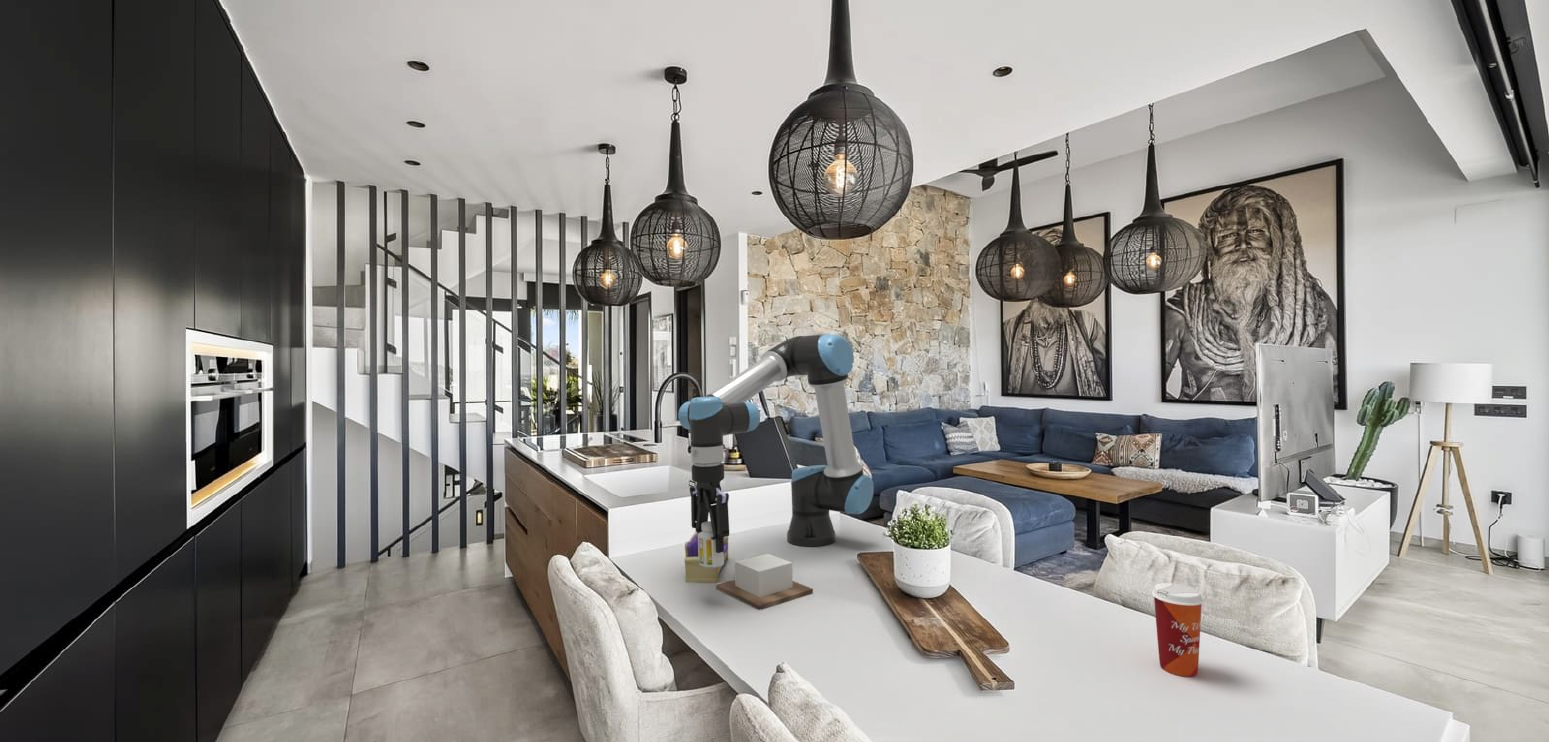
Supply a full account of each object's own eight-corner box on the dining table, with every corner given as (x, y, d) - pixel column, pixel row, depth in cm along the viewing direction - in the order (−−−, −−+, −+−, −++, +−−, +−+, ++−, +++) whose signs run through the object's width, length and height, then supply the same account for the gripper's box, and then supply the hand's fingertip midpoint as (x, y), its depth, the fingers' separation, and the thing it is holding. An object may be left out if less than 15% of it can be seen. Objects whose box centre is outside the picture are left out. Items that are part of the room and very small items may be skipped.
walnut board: (767, 574, 165) (767, 570, 165) (812, 593, 151) (812, 589, 151) (716, 588, 155) (716, 584, 155) (759, 610, 141) (759, 605, 141)
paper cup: (1181, 683, 105) (1179, 600, 105) (1142, 662, 113) (1141, 585, 113) (1216, 675, 108) (1215, 594, 108) (1176, 656, 115) (1175, 580, 115)
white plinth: (767, 577, 160) (767, 553, 160) (792, 587, 152) (792, 562, 152) (735, 586, 154) (734, 561, 154) (759, 597, 146) (759, 571, 146)
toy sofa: (718, 584, 159) (717, 543, 159) (684, 583, 160) (683, 543, 160) (729, 558, 180) (728, 523, 180) (699, 558, 181) (699, 523, 181)
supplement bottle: (695, 566, 145) (693, 525, 145) (706, 559, 150) (705, 519, 150) (715, 569, 143) (714, 527, 143) (726, 561, 148) (725, 521, 148)
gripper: (674, 461, 151) (677, 557, 151) (715, 470, 136) (718, 576, 137) (701, 457, 155) (704, 550, 156) (743, 466, 141) (747, 568, 141)
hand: (711, 562), depth 146 cm, fingers closed on supplement bottle, 5 cm apart
